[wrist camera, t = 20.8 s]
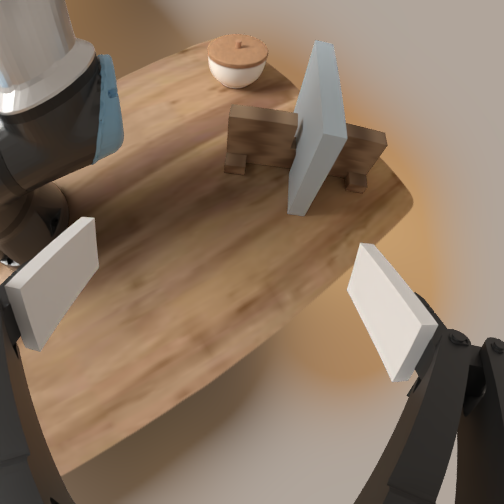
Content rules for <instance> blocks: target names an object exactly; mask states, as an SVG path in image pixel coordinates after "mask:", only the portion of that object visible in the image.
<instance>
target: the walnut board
mask: <svg viewBox="0 0 504 504" xmlns="http://www.w3.org/2000/svg"><path fill="white" fill-rule="evenodd" d="M297 127H298V113H292V112H286V111H280V110H273V109H266V108H259V107H251V106H243V105H234V104H231V108H230V113H229V122H228V138H227V154H226V160H225V168H224V173H233V174H242V175H244V172H245V165H246V163H253V164H261V165H268V166H275V167H282V168H289V169H291V167H292V164H293V162H294V159H295V156H296V137H294V136H295V133H296V130H297ZM346 129H347V138H348V139H347V141H346V142H345V144H344V146H343V148H342V150H341V152H340V153H339V155H338V157H337V159H336V161H335V162H334V164H333V166H332V168H331V170H330V171H329V173H328V175H331V176H336V177H342V178H345V190H348V191H353V192H358V193H363V192H364V191H365V189H366V188H367V179H366V174H367V173H368V172H369V170H370V169H371V168H372V166H373V165H374V163H375V162H376V161H377V159H378V158H379V157H380V155H381V154H382V152H383V151H384V149H385V148H386V147H387V141H386V136H385V133H383V132H380V131H376V130H372V129H368V128H364V127H360V126H356V125H352V124H347V123H346Z"/></svg>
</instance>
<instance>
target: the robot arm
mask: <svg viewBox="0 0 504 504" xmlns="http://www.w3.org/2000/svg"><path fill="white" fill-rule="evenodd" d="M123 140H124V131H123V122H122V115H121V108H120V102H119V97H118V94H117V85H116V77H115V71H114V66H113V61H112V58H111V56H110V55H102V54H101V55H98V56H96V53H95V49H94V46H93V45H92V44H91V43H90V42H88V41H85V40H81V39H78V38H75V35H74V32H73V29H72V26H71V22H70V18H69V15H68V11H67V7H66V4H65V0H0V262H1V263H2V264H3V265H5V266H7V267H8V268H10V269H12V270H15V271H14V272H13V273H12V274H11V276H9V277H8V278H7V279H6V280H5V281H4V282H3V283H2V284H1V285H0V504H75V503H74V501H73V500H72V498H71V496H70V495H69V493H68V491H67V489H66V487H65V485H64V483H63V481H62V479H61V476H60V474H59V472H58V470H57V467H56V465H55V463H54V461H53V458H52V456H51V453H50V451H49V448H48V446H47V443H46V441H45V438H44V435H43V433H42V430H41V427H40V424H39V421H38V418H37V415H36V412H35V409H34V406H33V403H32V399H31V396H30V392H29V389H28V385H27V381H26V377H25V373H24V369H23V365H22V361H21V356H20V352H19V348H18V345H17V343H16V341H17V340H18V339H19V337H20V336H21V338H22V340H23V343H24V345H25V347H26V348H29V349H32V350H36V351H41V350H42V348H43V347H44V345H45V344H46V342H47V340H48V339H49V337H50V336H51V334H52V333H53V331H54V330H55V328H56V327H57V325H58V324H59V322H60V321H61V319H62V318H63V316H64V315H65V314H66V312H67V311H68V309H69V308H70V306H71V305H72V304H73V302H74V301H75V299H76V298H77V297H78V295H79V294H80V292H81V291H82V290H83V288H84V287H85V286H86V284H87V283H88V281H89V280H90V279H91V277H92V276H93V275H94V273H95V272H96V271H97V270H98V268H99V262H98V253H97V242H96V230H95V218H90V217H81V218H80V219H78V220H77V221H76V222H75V223H73V224H72V225H71V226H70V227H69V228H67V226H68V220H69V209H68V204H67V201H66V198H65V196H64V195H63V193H62V192H61V191H60V189H59V188H58V187H57V186H56V185H55V184H54V183H53V182H52V181H54V180H56V179H58V178H61V177H63V176H65V175H67V174H70V173H72V172H74V171H76V170H79V169H81V168H84V167H86V166H88V165H93V164H95V163H96V162H97V161H98V160H100V159H102V158H104V157H106V156H108V155H110V154H113V153H115V152H116V151H117V150H118V149H119V148H120V147H121V145H122V143H123ZM347 291H348V293H349V295H350V297H351V299H352V301H353V303H354V305H355V307H356V309H357V311H358V312H359V315H360V317H361V319H362V320H363V322H364V325H365V327H366V328H367V330H368V333H369V335H370V337H371V338H372V341H373V343H374V345H375V346H376V349H377V351H378V353H379V355H380V357H381V359H382V362H383V363H384V366H385V368H386V370H387V372H388V374H389V377H390V379H391V381H392V382H399V381H408V380H409V378H410V377H411V375H412V373H413V371H414V370H416V372H417V374H418V378H417V380H416V381H415V383H414V385H413V386H412V388H411V389H410V391H409V393H408V394H407V396H408V397H409V398H408V401H407V403H406V405H405V408H404V410H403V412H402V414H401V417H400V419H399V421H398V423H397V425H396V428H395V430H394V432H393V434H392V436H391V438H390V440H389V442H388V444H387V446H386V448H385V450H384V452H383V454H382V456H381V458H380V460H379V461H378V463H377V465H376V467H375V469H374V471H373V472H372V474H371V476H370V478H369V480H368V481H367V483H366V484H365V486H364V488H363V489H362V491H361V493H360V494H359V496H358V498H357V499H356V501H355V502H354V504H436V503H435V502H436V498H437V496H438V493H439V490H440V488H441V485H442V482H443V479H444V476H445V473H446V470H447V466H448V463H449V460H450V456H451V452H452V449H453V446H454V441H455V438H456V434H457V442H458V443H457V444H458V452H457V482H456V497H455V504H504V342H503V341H501V340H500V339H496V338H491V337H490V338H487V339H486V340H485V342H484V344H483V346H482V347H479V346H474V345H471V342H470V340H469V339H468V338H467V337H466V336H465V335H464V334H463V333H461V332H459V331H457V330H454V329H447V328H446V326H445V325H444V324H443V322H442V321H441V320H440V319H439V317H438V316H437V315H436V313H434V311H433V309H432V308H431V307H430V306H429V304H428V303H427V302H426V301H425V299H424V298H422V297H421V296H420V295H418V294H417V293H415V292H413V291H412V290H411V288H410V287H409V286H408V285H407V283H406V282H405V281H404V280H403V279H402V278H401V276H400V275H399V274H398V272H397V271H396V270H395V269H394V268H393V266H392V265H391V264H390V263H389V262H388V260H387V259H386V258H385V257H384V256H383V255H382V253H381V252H380V251H379V250H378V249H377V248H376V246H375V245H374V244H368V243H360V245H359V249H358V253H357V256H356V260H355V264H354V268H353V271H352V274H351V278H350V281H349V284H348V288H347Z"/></svg>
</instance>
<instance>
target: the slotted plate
mask: <svg viewBox="0 0 504 504" xmlns="http://www.w3.org/2000/svg"><path fill="white" fill-rule="evenodd" d="M294 113H298V127H297V130H296V133H295V136H294V137H296V156H295V159H294V162H293V164H292V167H291V170H290V172H289V187H288V210H287V214H292V215H299V216H305V214H306V212H307V210H308V209H309V207H310V205H311V203H312V202H313V200H314V198H315V196H316V195H317V193H318V191H319V189H320V187H321V186H322V184H323V182H324V180H325V179H326V177H327V175H328V173H329V171H330V170H331V168H332V166H333V164H334V162H335V161H336V159H337V157H338V155H339V153H340V152H341V150H342V148H343V146H344V144H345V142H346V141H347V139H348V138H347V129H346V121H345V113H344V107H343V99H342V92H341V86H340V79H339V73H338V67H337V62H336V56H335V51H334V46H333V44H330V43H326V42H322V41H317V40H315V43H314V46H313V50H312V53H311V56H310V60H309V63H308V66H307V70H306V73H305V77H304V80H303V83H302V86H301V90H300V93H299V96H298V100H297V103H296V106H295V110H294Z"/></svg>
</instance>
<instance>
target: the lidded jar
mask: <svg viewBox="0 0 504 504" xmlns="http://www.w3.org/2000/svg"><path fill="white" fill-rule="evenodd" d="M267 56H268V48H267V47H266V45H265V44H264V43H263V42H262V41H260V40H259V39H257V38H254V37H251V36H247V35H241V34H232V35H224V36H221V37H218V38H216V39H214V40H213V41H212V42H211V43H210V44H209V46H208V62H209V67H210V70H211V73H212V74H213V76H214V77H215V78H216V79H217V80H218V81H219V82H221V83H222V84H223V85H224V86H226V87H229V88H243V87H246V86H248V85H249V84H251V83H253V82H254V81H255V80H257V79H258V78H259V76H260V75H261V73H262V71H263V70H264V67H265V63H266V59H267Z"/></svg>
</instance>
